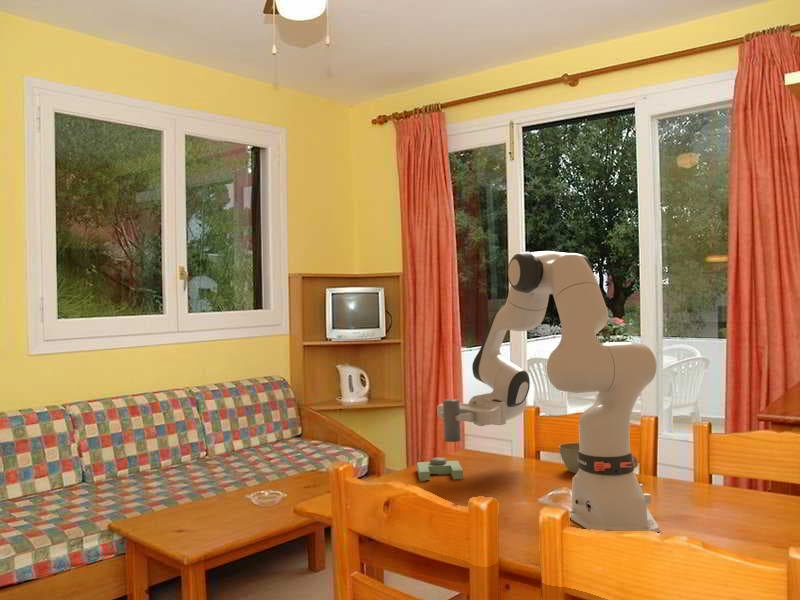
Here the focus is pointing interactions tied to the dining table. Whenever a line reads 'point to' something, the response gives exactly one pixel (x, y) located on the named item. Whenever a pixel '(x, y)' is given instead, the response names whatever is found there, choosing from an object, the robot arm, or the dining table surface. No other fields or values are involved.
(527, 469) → the dining table surface
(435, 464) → the green footed base
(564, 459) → the flower pot
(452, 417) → the grey tall cylinder
